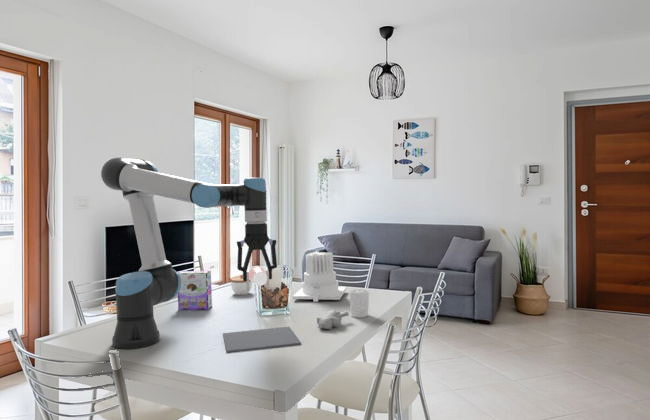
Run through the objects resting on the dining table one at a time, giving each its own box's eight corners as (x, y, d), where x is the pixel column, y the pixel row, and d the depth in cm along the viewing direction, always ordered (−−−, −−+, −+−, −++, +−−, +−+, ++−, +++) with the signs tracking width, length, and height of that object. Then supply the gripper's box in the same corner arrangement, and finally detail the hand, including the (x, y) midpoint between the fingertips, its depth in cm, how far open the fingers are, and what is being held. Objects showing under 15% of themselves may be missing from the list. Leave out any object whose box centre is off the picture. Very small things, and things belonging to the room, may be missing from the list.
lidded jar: (257, 292, 240) (256, 274, 240) (242, 296, 231) (242, 277, 231) (241, 290, 246) (240, 272, 245) (226, 294, 237) (226, 276, 236)
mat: (301, 344, 155) (301, 342, 155) (226, 352, 149) (226, 350, 149) (289, 328, 174) (289, 326, 174) (223, 334, 168) (222, 333, 168)
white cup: (368, 312, 194) (367, 288, 194) (370, 317, 186) (370, 292, 186) (349, 313, 194) (348, 289, 193) (350, 318, 186) (350, 293, 185)
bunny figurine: (311, 318, 172) (328, 304, 185) (312, 332, 173) (329, 317, 186) (334, 321, 168) (351, 306, 181) (335, 335, 168) (352, 319, 182)
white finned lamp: (339, 303, 212) (337, 256, 212) (292, 302, 216) (290, 256, 216) (346, 291, 237) (345, 249, 236) (304, 291, 241) (302, 249, 240)
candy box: (212, 306, 211) (211, 270, 211) (208, 310, 206) (206, 272, 205) (183, 306, 213) (181, 270, 212) (177, 310, 207) (176, 272, 206)
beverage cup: (247, 276, 155) (243, 270, 168) (257, 291, 156) (252, 284, 169) (263, 265, 156) (257, 260, 169) (273, 280, 157) (266, 274, 170)
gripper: (228, 224, 156) (230, 293, 157) (285, 222, 161) (287, 289, 162) (227, 223, 163) (229, 289, 164) (281, 221, 169) (283, 285, 169)
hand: (257, 289), depth 163 cm, fingers closed on beverage cup, 6 cm apart
